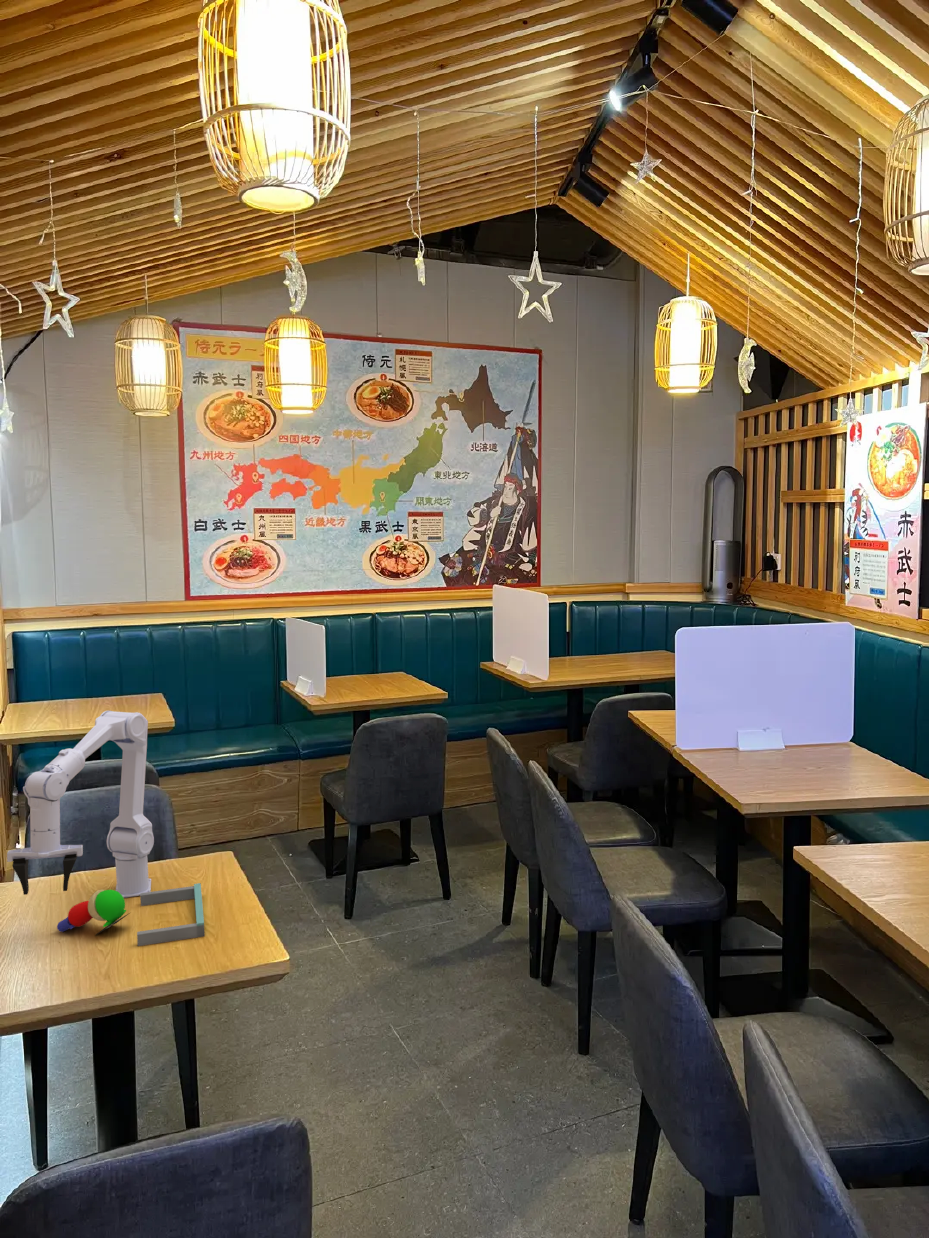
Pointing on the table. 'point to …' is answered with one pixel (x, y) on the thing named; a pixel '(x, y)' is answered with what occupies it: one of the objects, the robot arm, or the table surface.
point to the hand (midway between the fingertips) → (45, 891)
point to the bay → (176, 931)
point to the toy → (96, 910)
